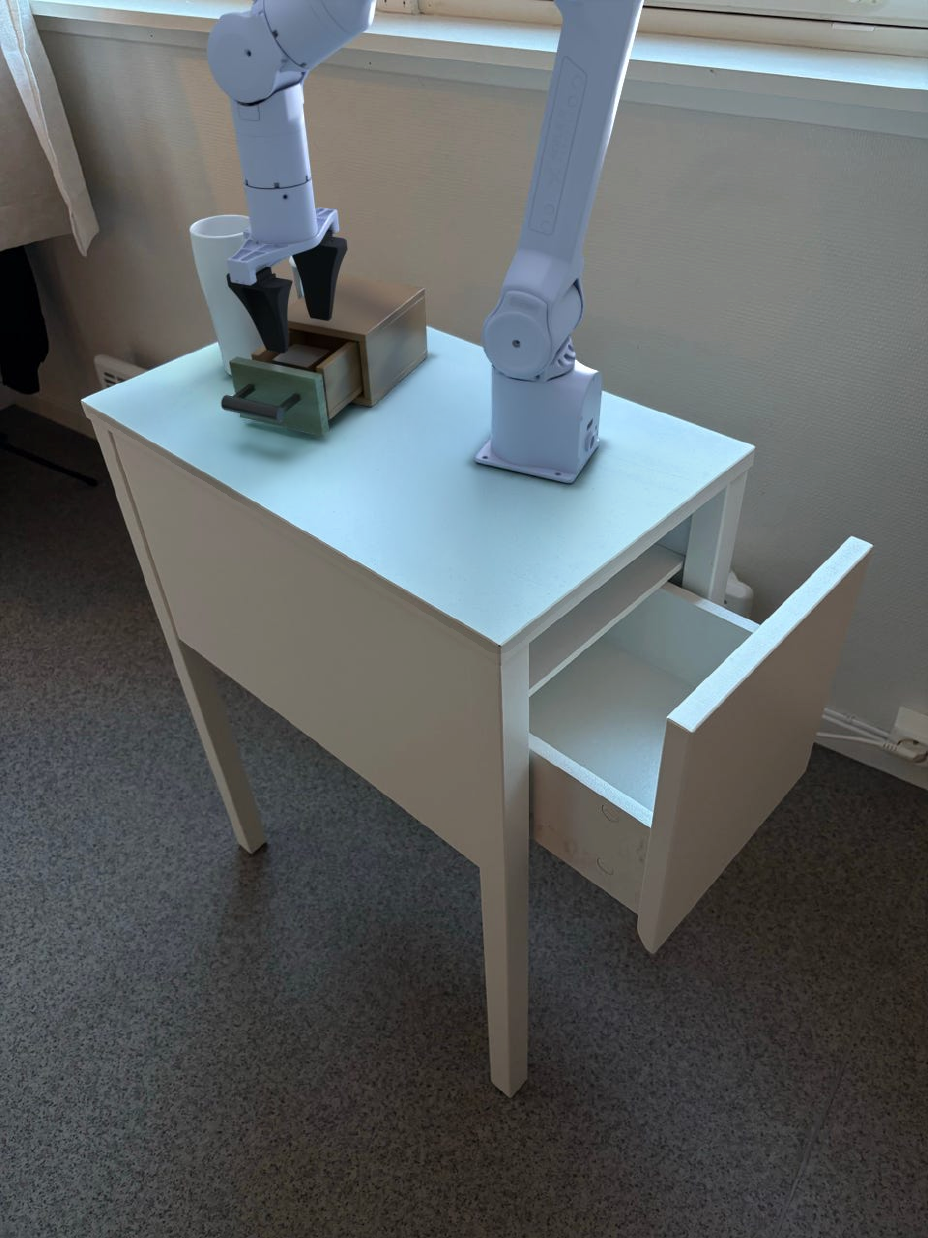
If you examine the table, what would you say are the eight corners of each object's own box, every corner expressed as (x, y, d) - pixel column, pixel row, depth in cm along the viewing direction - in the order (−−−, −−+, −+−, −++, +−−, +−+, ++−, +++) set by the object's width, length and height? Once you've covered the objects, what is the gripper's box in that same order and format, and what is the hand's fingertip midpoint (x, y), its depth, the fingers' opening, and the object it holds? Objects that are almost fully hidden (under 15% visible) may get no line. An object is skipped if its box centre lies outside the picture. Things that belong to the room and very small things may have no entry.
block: (334, 388, 91) (329, 350, 88) (312, 406, 88) (307, 367, 85) (300, 380, 92) (295, 343, 89) (277, 398, 89) (271, 359, 87)
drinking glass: (206, 368, 99) (175, 224, 89) (260, 349, 102) (235, 209, 92) (239, 390, 95) (210, 242, 85) (294, 369, 98) (272, 225, 89)
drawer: (298, 458, 83) (289, 400, 79) (213, 437, 86) (200, 380, 82) (381, 384, 94) (377, 329, 90) (303, 368, 97) (295, 314, 93)
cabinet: (372, 407, 92) (365, 334, 87) (282, 388, 95) (271, 317, 90) (428, 356, 100) (425, 287, 95) (344, 340, 104) (337, 273, 99)
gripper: (285, 152, 83) (304, 299, 92) (185, 198, 74) (218, 357, 82) (352, 160, 81) (365, 309, 90) (258, 208, 71) (284, 371, 80)
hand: (299, 333), depth 86 cm, fingers open, 7 cm apart
